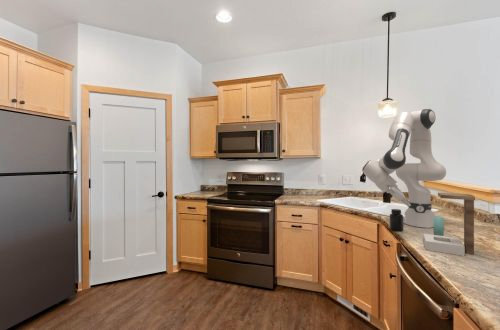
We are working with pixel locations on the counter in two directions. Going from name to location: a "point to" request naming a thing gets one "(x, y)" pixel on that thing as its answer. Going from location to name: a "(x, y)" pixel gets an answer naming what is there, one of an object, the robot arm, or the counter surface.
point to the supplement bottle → (396, 220)
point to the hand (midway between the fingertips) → (409, 204)
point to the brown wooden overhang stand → (465, 218)
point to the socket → (443, 244)
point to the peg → (438, 225)
